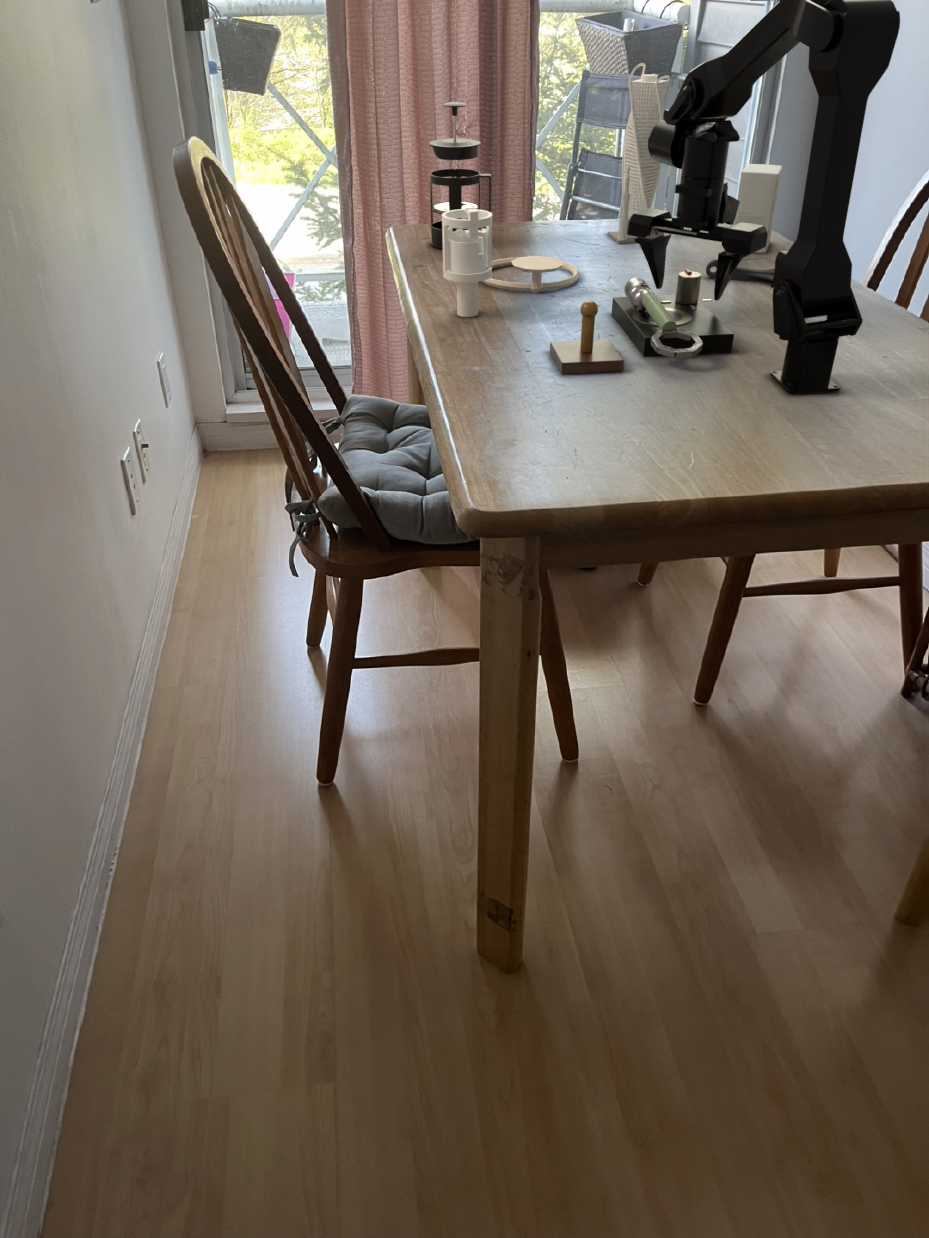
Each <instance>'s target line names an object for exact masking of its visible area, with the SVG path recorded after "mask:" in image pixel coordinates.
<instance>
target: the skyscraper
mask: <svg viewBox="0 0 929 1238" xmlns="http://www.w3.org/2000/svg"><path fill="white" fill-rule="evenodd" d="M640 67H642V71H641V74H640V79H635V80H633V75H635V72H636V71H637V69H638V68H640ZM646 68H647V65H646V63H645V62H640V63H637V65H635V66H634V68H633V69H632V70H631V73H630V75H629V78H628V82H627V83H628V92H629V99H630V100H629V101H630V102H629V103H630V113H629V116H628V120H627V124H626V127H625V134H624V139H623V148H622V157H621V211H620V216H619V219H618V228H617V230H616V231H608V232H607V235H608V236H609V237H610V238H612V239H613V240H614V241H616V243H618V244H634V243H635V242H634V239H635V238H637V237H635V236H630V235H627V226H628V221H629V219H630V217H631V216H632V214H634V213H636V212H639V211H642V210H645V209H648V208H651V209H652V206H653V203H654V199H655V196H656V192H657V188H658V183H659V180H660V175H661V168H662V163H660V162H657V161H655V160H654V159H653V158H652V157H651V155H650V153H649V150H648V138H649V136H650V134H651V132H652V130H653V128H654V127H655V125H656V124H657V123H658V122H660V121H661V120H663V106H664V102H665V99H666V96H667V92H668V88H669V86H670V82H671V77H670V75H662V76H661V77H659V78H658V76H659V75H658V74H653V73H650V74H649V73H645V72H646ZM635 244H636V243H635Z"/></svg>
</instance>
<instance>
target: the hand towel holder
mask: <svg viewBox="0 0 929 1238" xmlns="http://www.w3.org/2000/svg"><path fill="white" fill-rule="evenodd" d="M505 266H513V267H514V268H515V270H517V271H521V272H524V273H531V282H514V281H513V282H512V281H505V280H501V279H500V280H499V279H496V278H492V277H491V278H489V279H487V280H484V281H481V283H483V284H485V285H488V286H491V287H494V288H498V289H501V290H502V289H503V290H509V291H518V292H519V291H520V292H531V293H535V294H538V293H540V294H541V292H542V291H551V290H557V289H563V288H566V287H570V286H571V285H573V284H575V283H576V282H577V280H579V278H580V276H581V275H580V271H579V269H578V268H577V267H576V266H575V265H573V264H571V263H568V262H566V261H562V260H561V259H559V258H556V257H551V256H543V255H542V256H541V255H528V256H527V255H526V256H519V257H517V256H516V257H507V258H500V259H495V260H492V269H495V268H498V267H499V268H500V267H505ZM559 269H562V270H565V271H567V272H569V273H571V274H572V276H570V277H567V278H564V279H560V280H556V281H549V282H542V275H543V274H544V273H551V272H552V273H553V272H556V271H557V270H559Z"/></svg>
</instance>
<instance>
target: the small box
mask: <svg viewBox="0 0 929 1238" xmlns="http://www.w3.org/2000/svg"><path fill="white" fill-rule="evenodd" d="M782 171H783V165H778V164H765V163H757V164H756V163H746V164H745V166H744V167H743V168H742V170H741V171H740V179H739V186H738V194H737V200H739V201H740V203H739V207H738V210H737V214H736V217H735V221H734V224H733V225H735V224H738V223H740V222H744V223H751V224H758V225H764V226H765V228H766V230H767V233H768V236H767V242H766V247H765V248H762V249H760V250H758V251H756V252H755V253H756V254H757V253H758V254H766V252H767V251H768V248H769V246H770V242H771V237H772V231H773V225H774V218H775V212H776V206H777V201H778V195H779V189H780V183H781V176H782Z"/></svg>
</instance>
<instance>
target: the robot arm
mask: <svg viewBox="0 0 929 1238" xmlns="http://www.w3.org/2000/svg"><path fill="white" fill-rule="evenodd" d="M900 27H901V14H900V11H899V10H898V9H897V7H896V5H895V3H894V1H893V0H779V1H778V2H777V3H776V4H775V5H774V6H773V7H772V8H771V9H769V10H768V11H767V13H766V14H765V15H763V16H762V17H761V18H760V19H759V21H758V22H757V23H755V24H754V26H752V27H751V28H750V29H749V30H748V31H747V32H746V33H745V34H744V35H743V36H742V37H741V38H740V39H739V40H738V41H736V43H735V44H734V45H733V46H732V47H731V48H730V49H729V50H728V51H727V52H725V53H723V54H722V55H719V56H716V57H714V58H711V59H708V60H705V61H704V62H702V63H701V64H698V65H697V66H695V67H694V68H692V69H691V70H690V71H688V73H687V75H686V76H685V79H684V80H683V84H682V85H681V87H680V89H679V91H678V93H677V95H676V97H675V99H674V101H673V104H672V105H671V106H670V107H669V109H664V110H663V112H662V116H663V120H661V121H660V122H658V123H657V124H656V125H655V127H654V128H653V130H652V132H651V134H650V136H649V138H648V150H649V153H650V155H651V157H652V158H653V159H654V160H655V161H657V162H660V163H661V164H663V165H666V166H669V167H672V168H675V169H679V170H681V173H680V181H679V183H678V184H674V185H675V186H674V194H678V199H677V207H676V215H675V216H672V213H671V211H670V210H663V209H657V208H652V207H651V208H648V209H645V210H642V211H639V212H636V213H634V214H632V216H631V217H630V219H629V221H628V226H627V235H630V236H635V237H637V238H635V239H634V242H635V244H638V245H639V247H640V249H641V251H642V253H643V255H644V258H645V260H646V262H647V265H648V268H649V271H650V273H651V278H652V280H653V283H654V286H655V288H656V290H660V289H662V288H663V285H664V280H665V271H666V270H665V269H666V260H667V259H666V257H667V247H668V245H669V242H670V239H671V237H672V235H676V236H682V237H688V238H694V239H700V240H706V241H712V242H719V243H721V247H722V248H723V251H721V252H719V253H718V254H717V260H718V261H717V268H716V270H715V271H716V278H714V288H713V300H714V301H716V302H717V301H719V300H720V299H721V298H722V297H723V294H724V292H725V290H726V289H727V287H728V284H729V283H730V280H731V279H730V278H731V276H732V274H733V272H734V271H735V269H736V267H739V264H740V263H741V262H742V261H743V259H744V258H747V257H749V256H750V255H752V254H755V253H756V251H758V250H760V249H762V248H765V247H766V242H767V236H768V233H767V230H766V228H765V226H764V225H758V224H751V223H744V222H740V223H738V224H735V225H734V221H735V217H736V214H737V210H738V207H739V203H740V201H739V200H738V198H735V197H733V196H732V195H728V190H729V186H728V184H729V182H727V181H725V176H726V172H727V171H726V170H727V162H728V156H729V149H730V143H733V142H739V141H740V139H741V136H740V133H739V132H738V130H737V129H735V127H734V125H733V123H732V120H730V119H729V118H733V117H735V116H737V115H738V114H739V113H740V111H741V110H742V109H743V108H744V106H746V104H747V103H748V101H749V100H750V99H751V97H752V96H753V90H754V89H753V88H754V85H755V84H756V83H757V81H758V80H759V79H760V78H761V77H762V76H764V75H765V74H766V73H767V72H768V71H769V70H771V69H772V68H773V67H774V66H775V65H776V64H777V63H778V62H779V61H780V60H782V59H783V58H784V57H785V56H786V55H787V54H788V53H790V52H791V51H792V50H793V49H794V48H795V47H796V46H798V45H799V44H800V43H801V44H803V45H804V46H806V47H808V71H809V74H810V76H811V79H812V82H813V86H814V87H815V90H816V92H817V93H816V94H817V95H818V96H817V97H818V98H817V99H818V100H817V108H816V115H815V121H814V125H813V126H814V127H813V134H812V139H811V147H810V154H809V159H808V166H807V173H806V179H805V187H804V192H803V200H802V206H801V213H800V217H799V218H800V219H799V225H798V230H797V236H796V239H795V241H794V242H793V243H792V245H791V246H790V248H789V249H788V250H781V251H778V252H777V254H776V257H775V259H774V268H775V273H774V278H773V281H771V283H770V288H772V298H771V299H772V321H773V333H774V334H776V335H778V336H779V337H778V339H780V340H781V341H787V342H786V343H787V344H786V349H785V354H784V360H783V363H782V364H783V365H782V369H781V370H772V371H770V374H769V376H770V377H771V378H772V379H773V380H774V381H775V382H776V383H777V384H778V385H779V386H780V387H781V388H783V389H784V391H785V392H786V393H788V394H793V395H794V394H796V395H797V394H813V393H814V394H815V393H835V392H840V390H841V385H839V384H838V383H836V382H835V381H834V380H833V379H832V378H831V377H832V373H833V367H834V363H835V359H836V354H837V350H838V347H839V340H840V338H841V337H848V336H850V337H853V336H856V335H857V333H858V331H859V330H860V328H861V326H862V324H863V316H862V314H861V311H860V309H859V305H858V303H857V300H856V297H855V294H854V291H853V289H852V275H853V274H852V272H853V262H852V260H851V257H850V254H849V252H848V249H847V247H846V244H845V241H844V235H845V230H846V224H847V218H848V214H849V207H850V202H851V195H852V190H853V184H854V179H855V173H856V167H857V160H858V156H859V150H860V145H861V139H862V133H863V129H864V122H865V117H866V110H867V106H868V100H869V97H870V95H871V94H872V92H873V91H874V89H875V87H876V86H877V84H878V83H879V82H880V80H881V79H882V77H883V76H884V74H885V73H886V71H887V70H888V68H889V66H890V63H891V60H892V56H893V53H894V49H895V46H896V43H897V39H898V37H899V32H900ZM724 224H725V225H728V227H726V226H719V225H724ZM820 317H821V318H822V317H826V319H821V320H815V321H814V320H813V321H806V320H808V319H814V318H820Z"/></svg>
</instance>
